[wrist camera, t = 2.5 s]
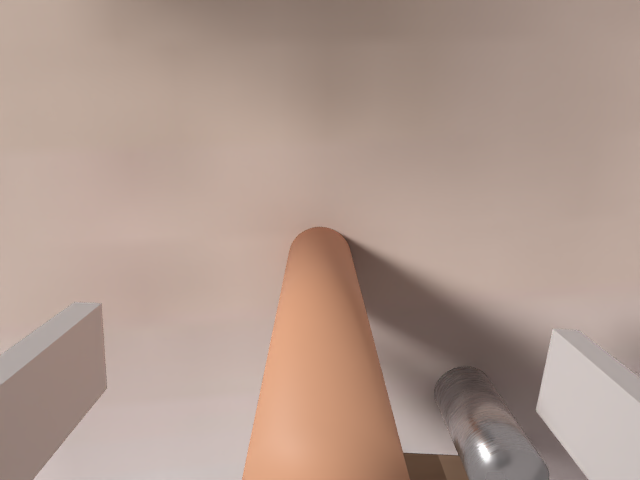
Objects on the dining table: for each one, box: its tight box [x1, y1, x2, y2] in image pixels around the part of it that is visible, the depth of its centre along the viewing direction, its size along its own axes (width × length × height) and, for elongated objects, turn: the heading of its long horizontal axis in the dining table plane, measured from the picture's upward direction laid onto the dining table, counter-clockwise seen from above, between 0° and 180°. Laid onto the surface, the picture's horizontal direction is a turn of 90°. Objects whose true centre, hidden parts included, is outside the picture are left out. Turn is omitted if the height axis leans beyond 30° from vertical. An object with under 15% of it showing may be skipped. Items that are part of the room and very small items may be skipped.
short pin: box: [434, 367, 549, 480], centre depth 20 cm, size 3×3×6 cm
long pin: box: [242, 227, 410, 480], centre depth 14 cm, size 3×3×14 cm
